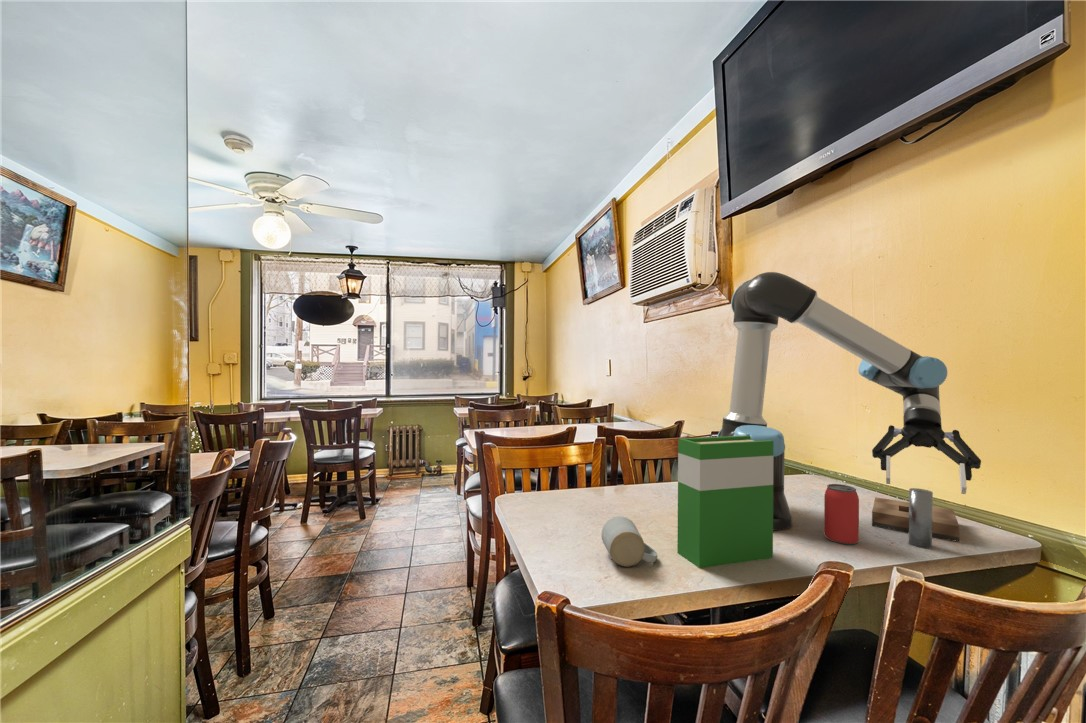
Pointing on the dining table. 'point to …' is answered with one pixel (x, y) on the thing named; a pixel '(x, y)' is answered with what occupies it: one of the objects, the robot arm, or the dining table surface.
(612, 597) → the dining table surface
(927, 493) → the steel pin
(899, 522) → the socket block
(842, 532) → the beer can
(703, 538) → the cereal box
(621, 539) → the ceramic mug
